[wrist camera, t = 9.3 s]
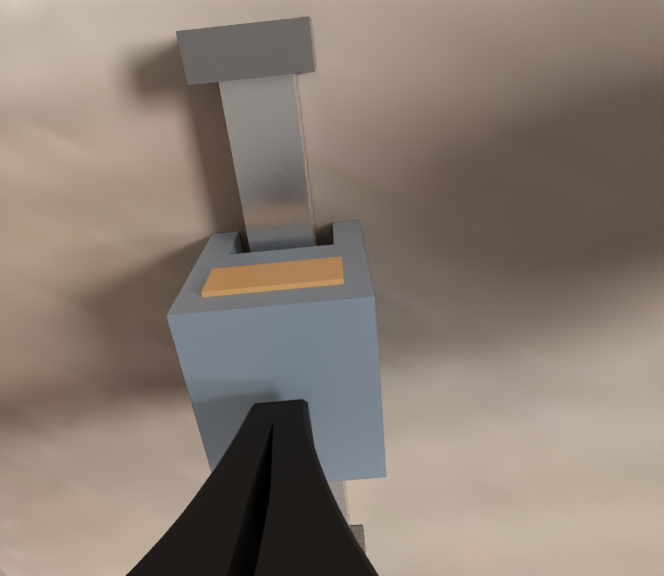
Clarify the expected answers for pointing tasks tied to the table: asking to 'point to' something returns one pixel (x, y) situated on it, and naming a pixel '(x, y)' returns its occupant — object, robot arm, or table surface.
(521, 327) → the table surface
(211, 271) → the block
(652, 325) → the table surface
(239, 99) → the rail
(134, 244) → the table surface
